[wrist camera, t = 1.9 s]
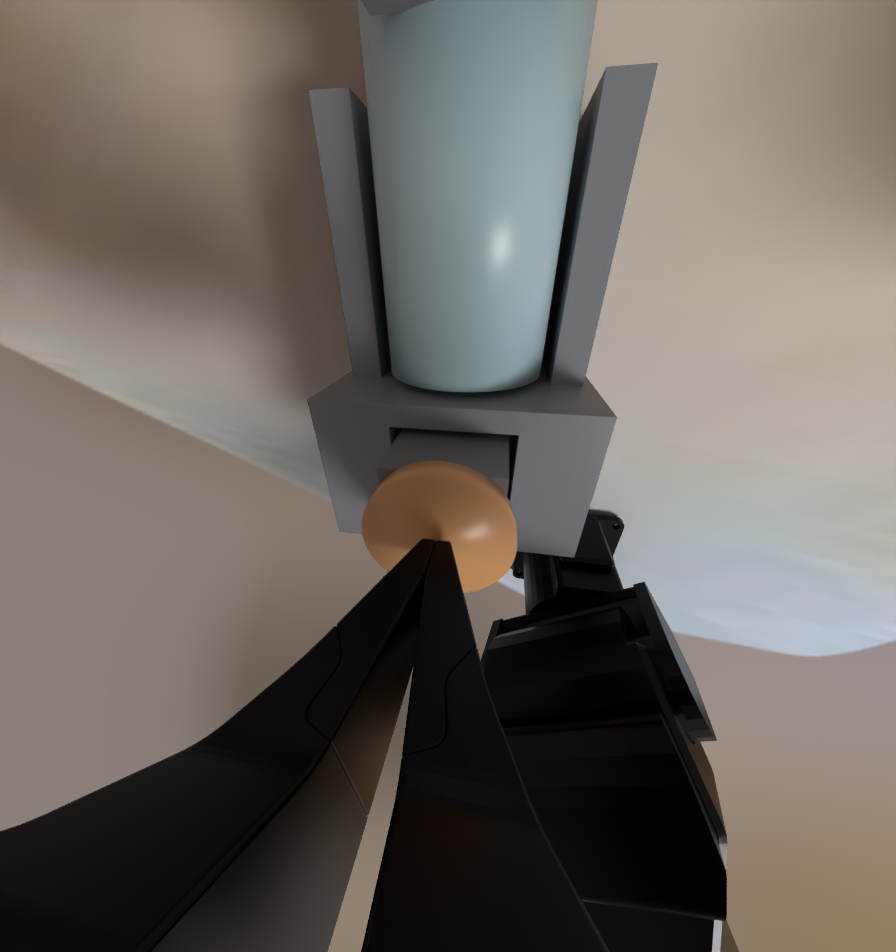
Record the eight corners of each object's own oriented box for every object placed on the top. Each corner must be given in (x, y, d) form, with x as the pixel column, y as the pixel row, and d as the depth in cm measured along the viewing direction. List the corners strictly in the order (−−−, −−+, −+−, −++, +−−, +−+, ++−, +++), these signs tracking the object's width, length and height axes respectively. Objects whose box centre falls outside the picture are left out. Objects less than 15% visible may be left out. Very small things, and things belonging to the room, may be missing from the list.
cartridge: (540, 354, 15) (579, 451, 7) (407, 350, 16) (305, 432, 8) (596, -20, 10) (1170, -1887, 1) (385, 3, 10) (-81, -1034, 2)
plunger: (508, 521, 14) (508, 602, 10) (403, 510, 14) (372, 583, 11) (521, 420, 11) (527, 484, 8) (394, 413, 12) (349, 469, 8)
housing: (550, 459, 19) (573, 557, 13) (393, 448, 21) (339, 531, 14) (616, 134, 12) (756, -40, 5) (361, 148, 13) (214, 21, 7)
